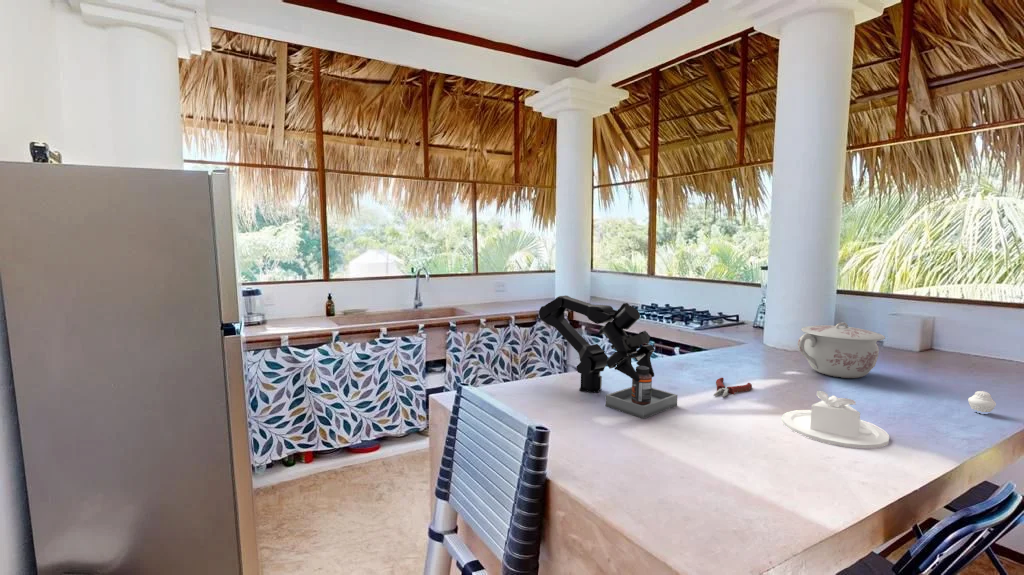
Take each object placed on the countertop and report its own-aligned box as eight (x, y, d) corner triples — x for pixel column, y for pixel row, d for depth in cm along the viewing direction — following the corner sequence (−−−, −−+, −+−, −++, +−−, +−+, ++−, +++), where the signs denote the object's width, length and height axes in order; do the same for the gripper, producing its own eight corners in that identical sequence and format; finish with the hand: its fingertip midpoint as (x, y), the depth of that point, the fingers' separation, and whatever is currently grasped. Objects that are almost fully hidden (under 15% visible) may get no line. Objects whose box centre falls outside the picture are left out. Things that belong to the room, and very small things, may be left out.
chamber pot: (877, 371, 194) (882, 321, 192) (885, 388, 171) (891, 331, 169) (797, 361, 209) (800, 314, 207) (795, 376, 186) (798, 323, 184)
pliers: (700, 395, 162) (700, 388, 162) (719, 382, 178) (719, 376, 177) (736, 403, 155) (736, 396, 155) (752, 389, 170) (753, 382, 170)
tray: (605, 405, 150) (605, 394, 150) (639, 394, 161) (639, 384, 161) (643, 418, 139) (643, 407, 139) (676, 405, 151) (677, 394, 150)
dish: (896, 458, 116) (900, 413, 115) (779, 435, 129) (782, 394, 128) (883, 425, 137) (886, 387, 136) (783, 408, 150) (785, 373, 149)
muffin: (967, 408, 152) (969, 386, 151) (994, 413, 147) (997, 391, 147) (966, 412, 147) (969, 390, 147) (994, 418, 143) (997, 395, 142)
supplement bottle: (628, 399, 153) (630, 364, 152) (646, 399, 154) (648, 364, 153) (635, 405, 147) (636, 369, 146) (653, 405, 148) (655, 369, 147)
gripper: (615, 326, 145) (645, 369, 138) (651, 320, 157) (679, 359, 149) (594, 347, 152) (621, 389, 144) (630, 339, 164) (656, 378, 156)
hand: (646, 378), depth 148 cm, fingers open, 7 cm apart
